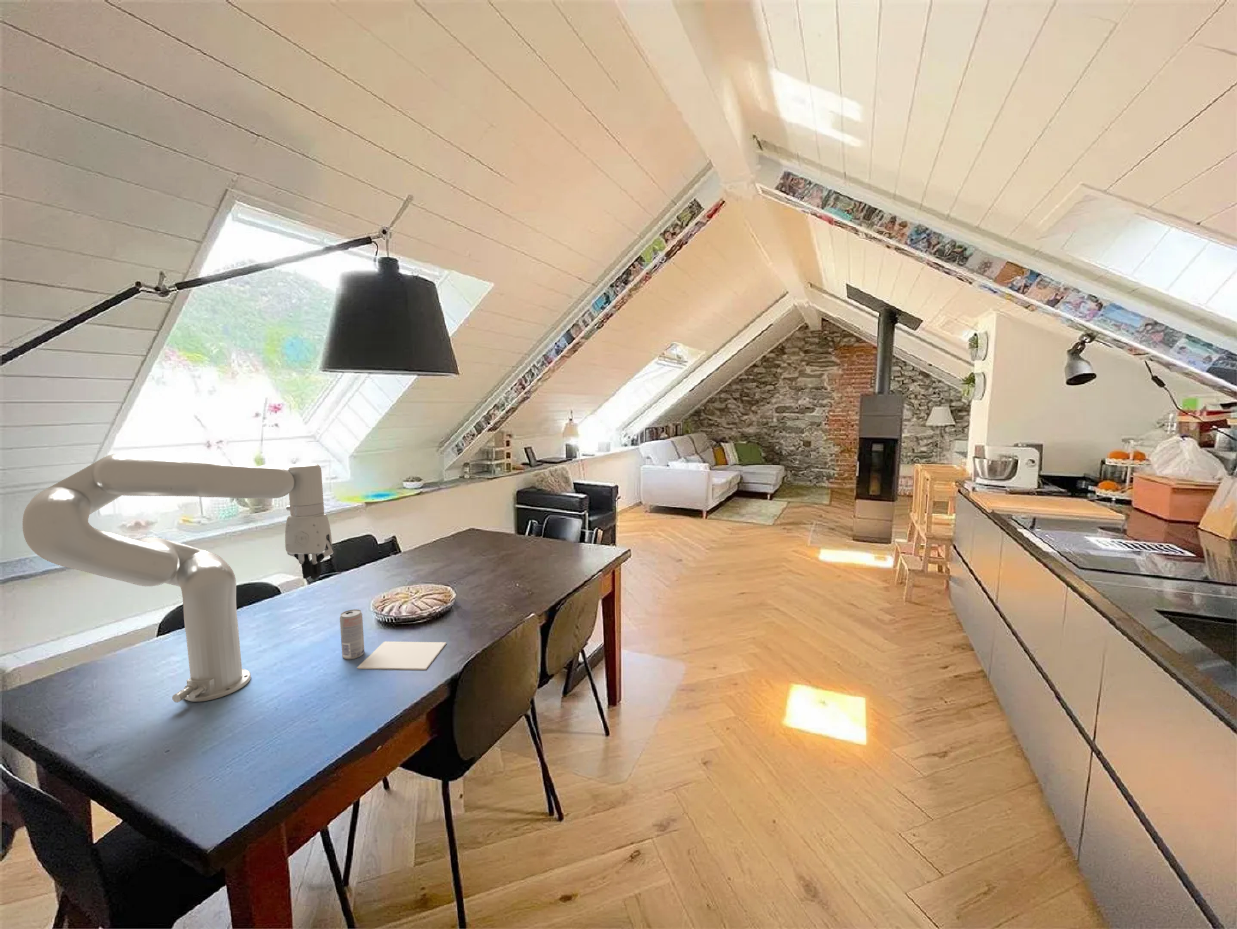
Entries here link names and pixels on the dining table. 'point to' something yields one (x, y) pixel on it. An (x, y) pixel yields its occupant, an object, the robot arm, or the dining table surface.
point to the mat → (403, 655)
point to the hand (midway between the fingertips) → (312, 576)
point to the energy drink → (352, 634)
